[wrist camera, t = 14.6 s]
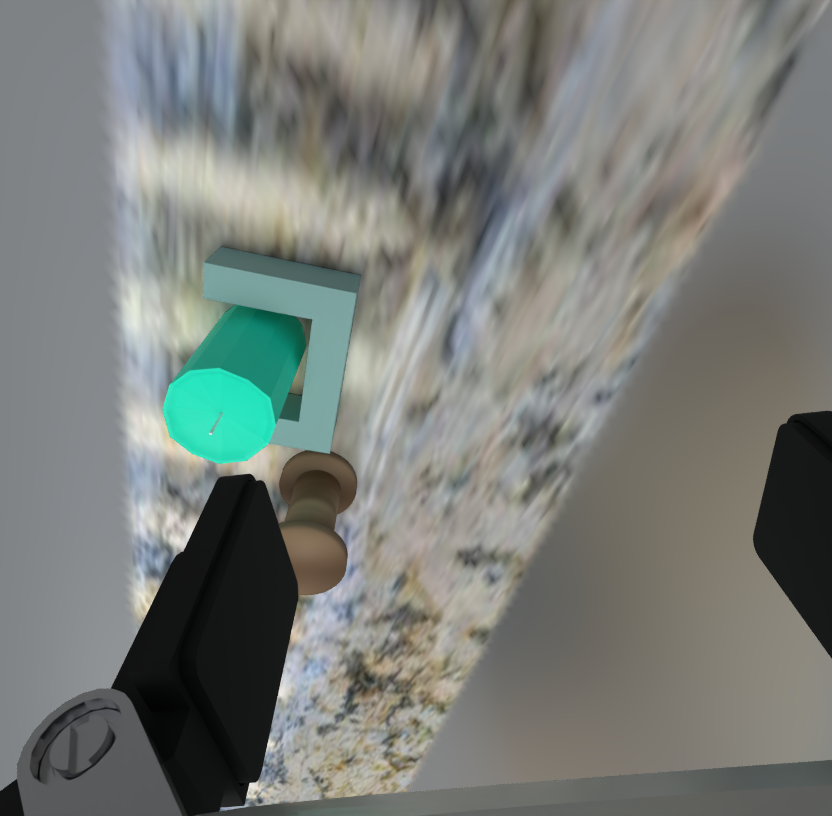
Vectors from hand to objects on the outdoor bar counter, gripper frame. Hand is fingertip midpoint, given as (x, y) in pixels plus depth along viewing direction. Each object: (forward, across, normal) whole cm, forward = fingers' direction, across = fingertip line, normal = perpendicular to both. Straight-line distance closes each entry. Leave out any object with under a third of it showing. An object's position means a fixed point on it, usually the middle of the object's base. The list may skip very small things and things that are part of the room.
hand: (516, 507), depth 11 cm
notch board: (+28, +12, +8) cm, 32 cm away
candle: (+28, +13, +7) cm, 32 cm away
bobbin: (+28, +12, +20) cm, 37 cm away
